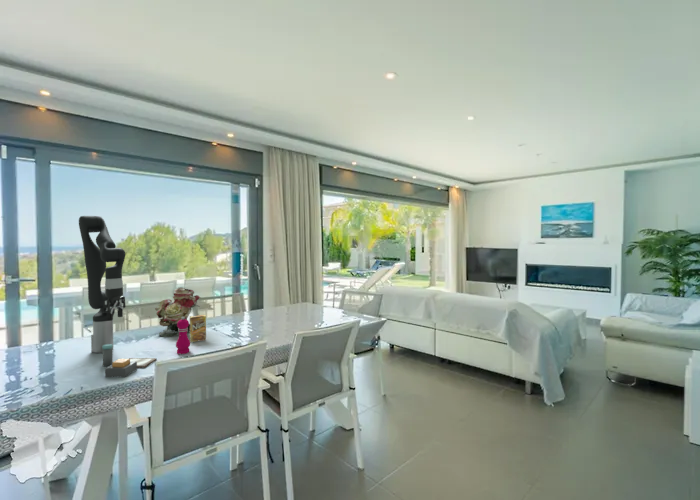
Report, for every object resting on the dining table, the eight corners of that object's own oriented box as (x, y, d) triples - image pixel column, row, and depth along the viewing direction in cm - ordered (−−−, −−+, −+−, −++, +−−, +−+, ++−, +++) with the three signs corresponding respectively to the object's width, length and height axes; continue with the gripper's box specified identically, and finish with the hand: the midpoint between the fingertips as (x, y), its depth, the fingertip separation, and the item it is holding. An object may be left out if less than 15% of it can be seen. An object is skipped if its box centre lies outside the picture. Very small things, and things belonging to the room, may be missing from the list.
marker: (100, 366, 171) (100, 346, 171) (106, 363, 176) (106, 344, 175) (109, 366, 171) (108, 346, 171) (114, 363, 176) (114, 344, 175)
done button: (112, 371, 161) (112, 362, 161) (119, 367, 166) (119, 358, 166) (123, 371, 161) (123, 362, 161) (130, 367, 166) (130, 358, 166)
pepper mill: (176, 355, 189) (175, 318, 188) (175, 351, 196) (175, 315, 195) (190, 353, 192) (190, 317, 192) (189, 349, 199) (189, 314, 198)
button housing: (105, 377, 159) (105, 368, 159) (117, 369, 168) (117, 361, 168) (125, 377, 159) (125, 368, 159) (136, 369, 168) (136, 361, 168)
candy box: (190, 342, 212) (190, 317, 211) (189, 340, 215) (189, 316, 215) (206, 340, 217) (206, 315, 216) (204, 338, 220) (204, 314, 220)
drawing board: (115, 367, 170) (115, 365, 170) (129, 360, 181) (129, 357, 181) (144, 368, 170) (144, 365, 170) (156, 360, 181) (156, 358, 181)
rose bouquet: (158, 328, 243) (157, 285, 241) (203, 325, 251) (203, 284, 250) (149, 339, 218) (148, 291, 217) (199, 335, 227) (199, 289, 226)
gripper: (115, 285, 186) (116, 316, 186) (97, 289, 171) (98, 322, 172) (129, 285, 186) (130, 315, 186) (112, 288, 172) (114, 321, 172)
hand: (115, 318), depth 179 cm, fingers open, 8 cm apart
